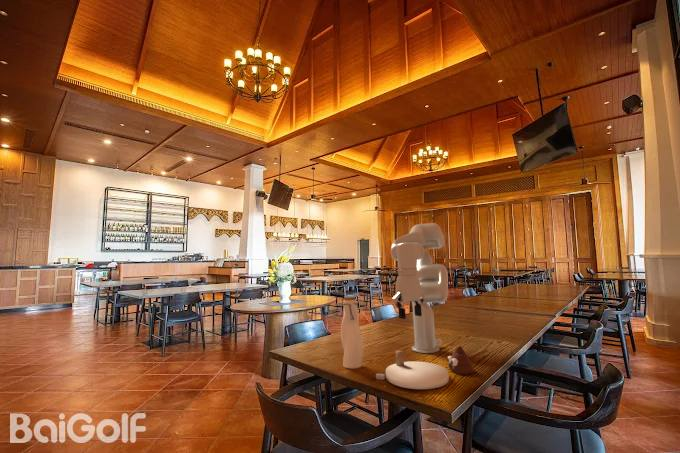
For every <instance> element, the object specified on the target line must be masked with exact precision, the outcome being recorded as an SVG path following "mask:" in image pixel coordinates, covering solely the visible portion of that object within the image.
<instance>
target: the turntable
mask: <svg viewBox="0 0 680 453" xmlns="http://www.w3.org/2000/svg"><path fill="white" fill-rule="evenodd" d="M394 353H395V363H393V364H390V365H388V366H387V367H386V368H385V379H386V381H388V382H389V383H390V384H392V385H393V386H397V387H400V388H405V389H412V390H432V389H438V388H441V387H444V386H445V385H447V384H448V383H449V382H450V375H449V371H448V370H447V369H446V368H445V367H444V366H442V365H439V364H436V363H431V362H425V361H413V360H412V361H405V360H404V359H405V357H404V356H405V355H404V351H403V350H396V351H395V352H394Z"/></svg>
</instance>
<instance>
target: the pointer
mask: <svg viewBox="0 0 680 453" xmlns="http://www.w3.org/2000/svg"><path fill="white" fill-rule="evenodd" d="M375 377H376V378H375V380H385V379H386V374H385V373H375Z"/></svg>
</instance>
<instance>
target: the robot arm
mask: <svg viewBox="0 0 680 453" xmlns="http://www.w3.org/2000/svg"><path fill="white" fill-rule="evenodd" d="M445 244H446V242H445V236H444V233H443V231H442V228H441V226H440V225H439V224H437V223H436V222H430V223H429V222H428V223H419V224H415V225H413V226H412V227H411V228H410V231H409V233H407V234H404V235H402V236H400V237H397V238H396V239H395V240H394V241H393V243H392V244H391V247H390V253H389V254H390V257H391V259H393V260H394V261H397V271H398V273H397V274H398V276H397V277H396V280H395V281H396V282H395V283H396V284H395V295H393V297H392V301H393V302H394V303H393V304H394V305H395V306H396V308H397V309H398V317H399V319H401V320H402V319H403V320H405V319H406V318H407V316H406V308H405V305H406V303H411V306H412V319H413V334H414V335H413V336H414V345H412V346H411V350H412V351H413V352H415V353H421V354H433V353H437V352H439V351H440V347H439V346H438V344H441V343H442V342H443V340H442V338H436V332H435V331H436V330H435V319H434V318H435V317H434V316H435V315H434V311H433V309H432V307H431V305H430V304H428V303H444V302H446V301H447V299H448V295H449V294H448V293H449V290H448V289H449V286H448V285H449V281H448V278H449V277H448V276H449V274H448V269H447V267H446V266H445V265H444V264H440V263H433V257H432V256H431V254H429V253H428V252H427V251H425V250H436V249H438V250H439V249H442V248H444V246H445Z"/></svg>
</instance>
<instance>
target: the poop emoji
mask: <svg viewBox="0 0 680 453" xmlns="http://www.w3.org/2000/svg"><path fill="white" fill-rule="evenodd" d="M446 359H447V363H448V368H449V370H451V371H452V372H454V373H455V374H457V375H460V376H461V375H464V376H468V375H472V374H473V373H474V370H475V369H474V366H473V364H472V361H471V360H470V358H469V356H468V354H467V353H466V352H465V350H464V349H463V347H462V346H460V345H459V346H456V348H455V349H454V352H453V353H452V355H449V356H447V358H446Z"/></svg>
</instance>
